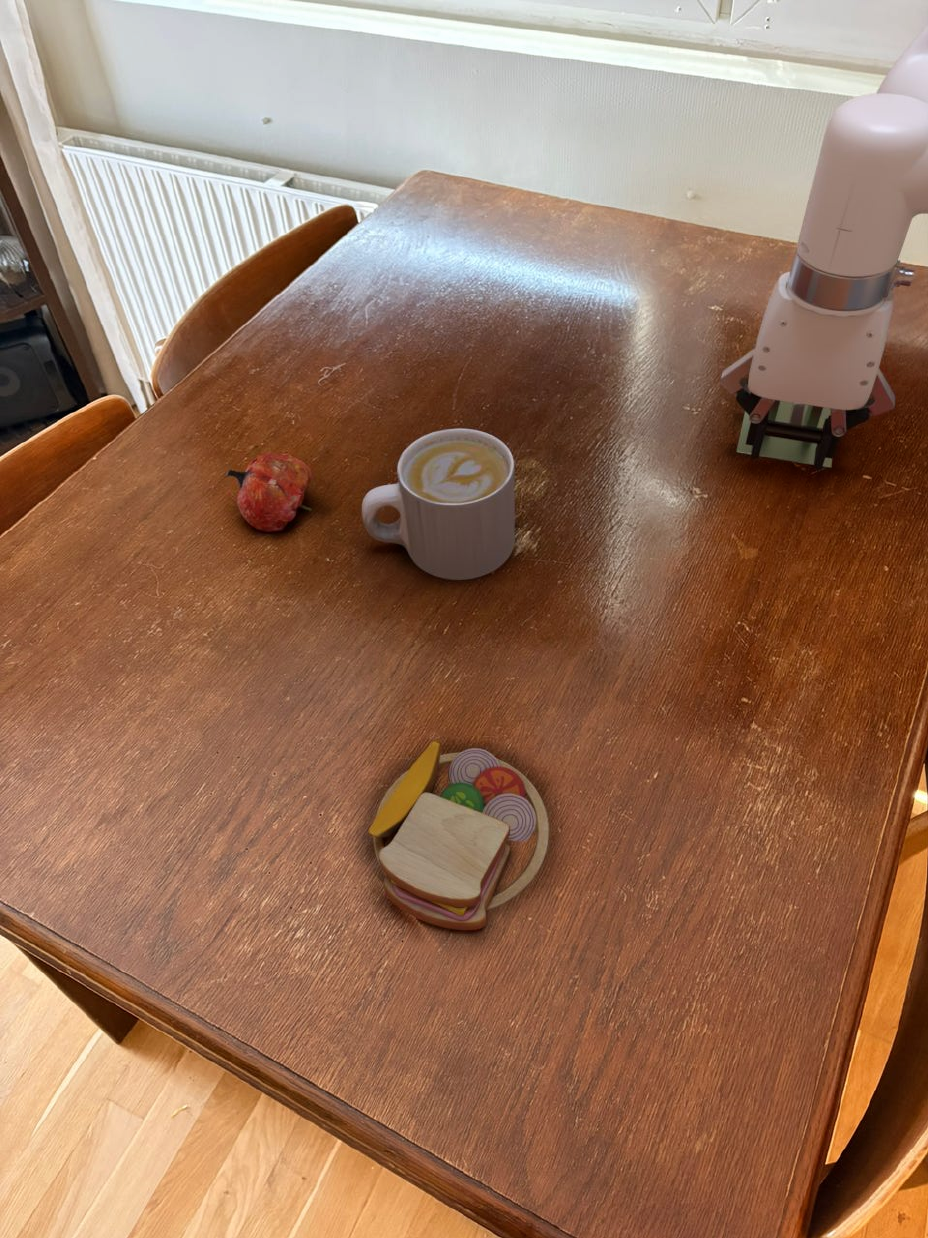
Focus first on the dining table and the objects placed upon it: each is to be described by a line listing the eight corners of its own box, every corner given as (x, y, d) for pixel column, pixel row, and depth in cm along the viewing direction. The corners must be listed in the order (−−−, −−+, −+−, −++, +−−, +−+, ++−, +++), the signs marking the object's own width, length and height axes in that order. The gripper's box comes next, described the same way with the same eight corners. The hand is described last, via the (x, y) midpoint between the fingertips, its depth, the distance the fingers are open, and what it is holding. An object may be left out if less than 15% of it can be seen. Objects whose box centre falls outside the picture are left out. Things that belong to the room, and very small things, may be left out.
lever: (817, 449, 83) (823, 437, 80) (762, 440, 84) (765, 428, 82) (838, 344, 85) (844, 329, 83) (784, 337, 86) (788, 322, 84)
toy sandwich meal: (579, 809, 66) (583, 777, 62) (481, 969, 58) (479, 942, 55) (438, 734, 70) (433, 699, 67) (331, 873, 63) (320, 843, 60)
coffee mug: (516, 512, 86) (516, 428, 78) (512, 589, 80) (512, 506, 72) (378, 509, 87) (365, 427, 79) (364, 585, 81) (348, 503, 73)
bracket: (828, 476, 87) (864, 373, 78) (734, 461, 89) (758, 358, 80) (836, 403, 94) (869, 301, 85) (748, 390, 97) (773, 289, 88)
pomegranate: (319, 506, 91) (229, 456, 87) (352, 471, 86) (257, 416, 82) (298, 563, 87) (203, 514, 83) (330, 531, 82) (230, 476, 78)
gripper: (955, 264, 71) (883, 445, 85) (735, 239, 75) (701, 416, 89) (957, 314, 66) (880, 498, 80) (723, 285, 70) (688, 464, 84)
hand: (786, 453), depth 84 cm, fingers closed on lever, 5 cm apart
